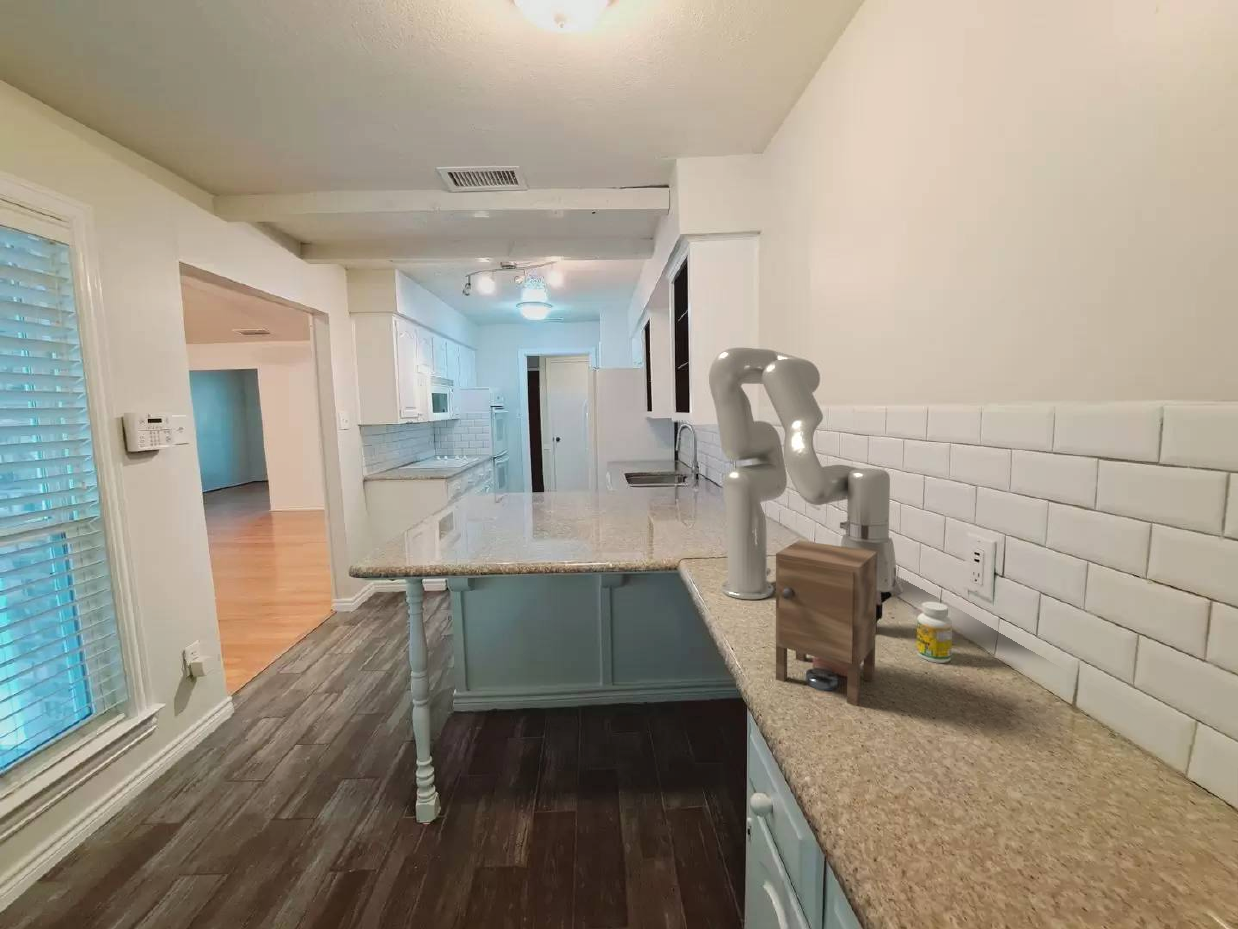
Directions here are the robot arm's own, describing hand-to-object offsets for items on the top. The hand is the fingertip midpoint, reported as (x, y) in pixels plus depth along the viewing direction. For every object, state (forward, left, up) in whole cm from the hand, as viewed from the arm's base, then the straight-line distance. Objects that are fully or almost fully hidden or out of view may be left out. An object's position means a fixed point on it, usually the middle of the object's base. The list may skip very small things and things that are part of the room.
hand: (866, 618), depth 104 cm
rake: (+9, 0, -3) cm, 10 cm away
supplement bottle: (+4, +13, -3) cm, 14 cm away
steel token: (+25, 0, -3) cm, 25 cm away
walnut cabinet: (+23, 0, -3) cm, 24 cm away
